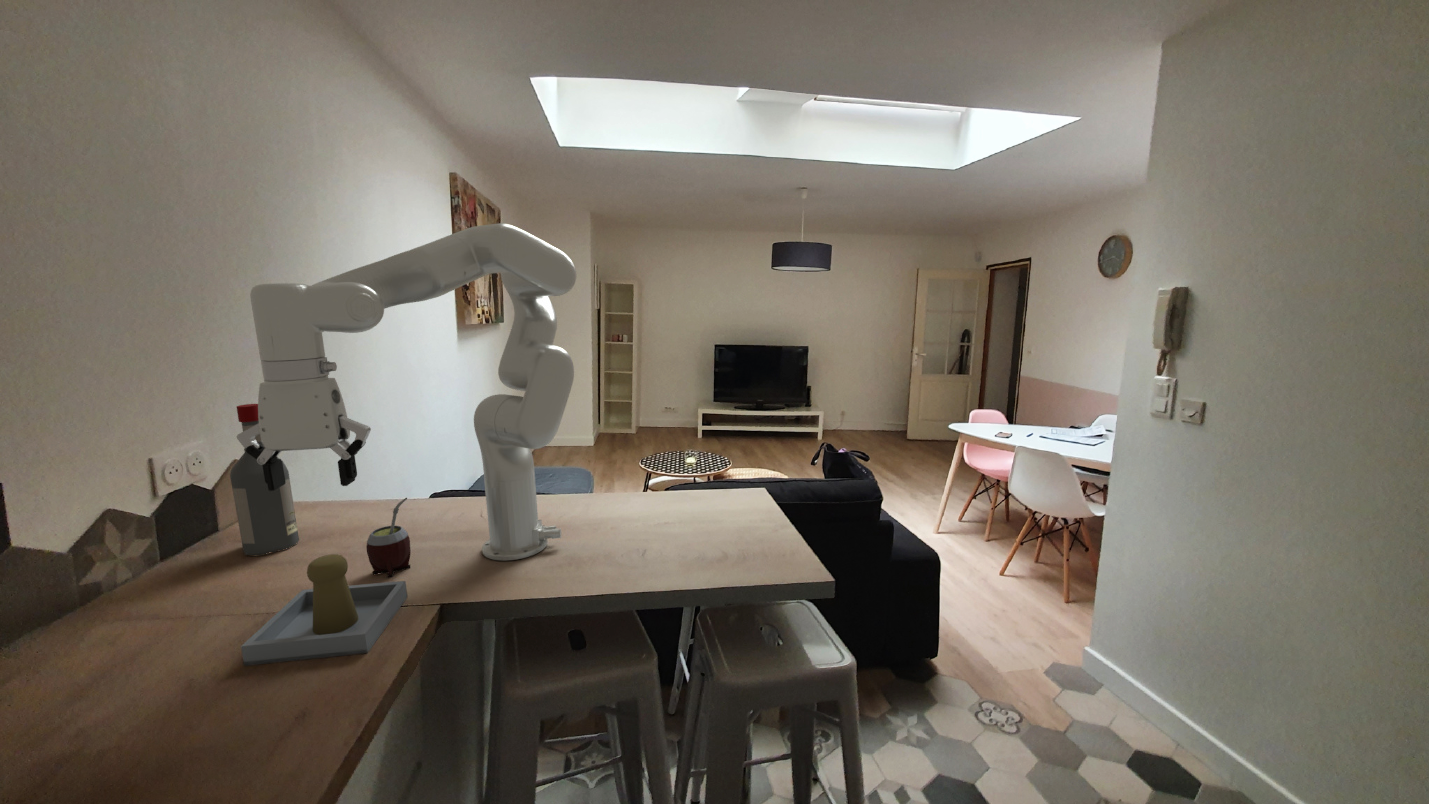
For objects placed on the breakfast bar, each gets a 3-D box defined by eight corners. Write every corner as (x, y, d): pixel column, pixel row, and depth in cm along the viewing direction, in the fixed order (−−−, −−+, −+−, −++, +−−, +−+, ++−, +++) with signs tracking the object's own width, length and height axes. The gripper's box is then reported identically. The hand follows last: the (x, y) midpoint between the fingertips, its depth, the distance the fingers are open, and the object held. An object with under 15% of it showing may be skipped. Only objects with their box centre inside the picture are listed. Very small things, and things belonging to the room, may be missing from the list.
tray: (407, 597, 99) (405, 580, 98) (367, 653, 83) (364, 634, 83) (305, 606, 96) (302, 589, 96) (244, 665, 81) (240, 646, 80)
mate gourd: (373, 566, 110) (363, 491, 108) (419, 558, 113) (410, 485, 111) (367, 583, 103) (356, 504, 101) (416, 575, 106) (407, 497, 104)
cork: (335, 637, 86) (325, 568, 84) (302, 632, 87) (291, 565, 85) (367, 615, 92) (358, 551, 90) (336, 611, 93) (326, 548, 91)
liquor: (244, 560, 114) (218, 411, 108) (242, 545, 121) (217, 405, 115) (300, 546, 120) (278, 405, 114) (295, 533, 127) (274, 399, 121)
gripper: (371, 366, 87) (385, 474, 90) (245, 370, 85) (264, 481, 88) (349, 372, 80) (365, 489, 83) (209, 377, 77) (231, 498, 81)
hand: (313, 485), depth 85 cm, fingers open, 9 cm apart
